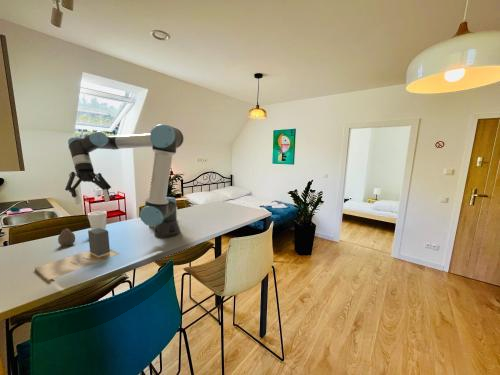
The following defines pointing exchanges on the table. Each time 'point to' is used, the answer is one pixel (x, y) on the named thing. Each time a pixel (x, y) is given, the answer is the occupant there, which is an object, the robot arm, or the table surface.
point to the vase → (66, 238)
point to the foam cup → (97, 219)
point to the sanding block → (99, 242)
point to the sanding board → (69, 264)
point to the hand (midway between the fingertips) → (94, 202)
